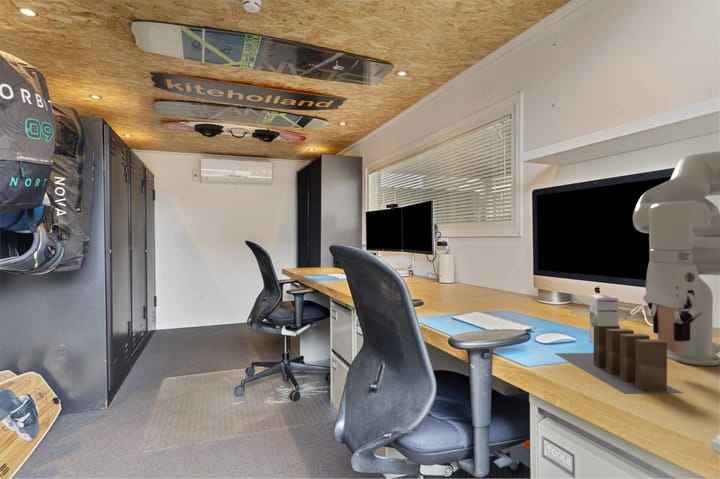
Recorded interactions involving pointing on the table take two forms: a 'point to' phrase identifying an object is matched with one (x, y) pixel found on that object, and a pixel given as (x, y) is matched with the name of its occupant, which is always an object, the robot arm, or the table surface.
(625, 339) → the domino
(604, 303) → the syrup box
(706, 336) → the robot arm
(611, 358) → the domino
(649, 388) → the domino
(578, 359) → the mat
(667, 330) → the domino
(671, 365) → the table surface
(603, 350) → the domino
